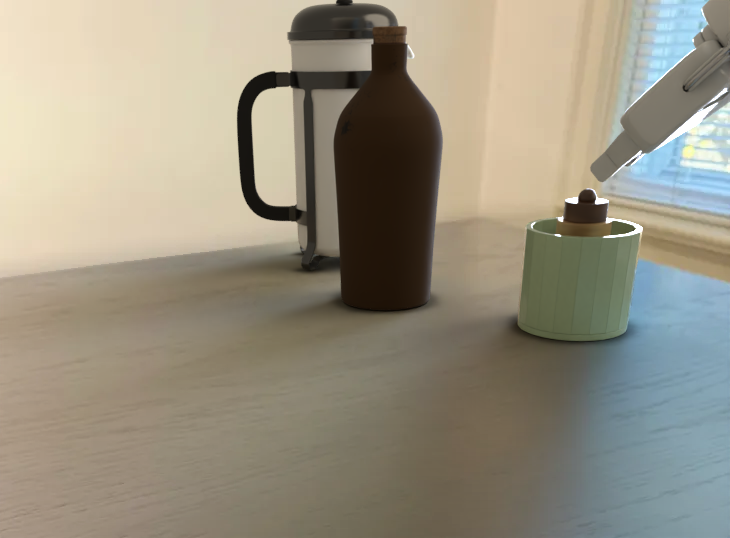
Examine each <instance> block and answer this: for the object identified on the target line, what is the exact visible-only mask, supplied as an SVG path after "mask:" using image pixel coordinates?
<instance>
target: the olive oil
mask: <svg viewBox="0 0 730 538" xmlns="http://www.w3.org/2000/svg"><path fill="white" fill-rule="evenodd" d="M407 35H408V27H407V26H405V25H398V26H384V27H373V44H371V64H372V70H371V73H370V75H369V77H368V78H367V80H366V81H365V82H364V84H363V85H362V86H361V87H360V89H359V90H358V91H357V93H356V94H355V95H354V96H353V98H352V99H351V100H350V101H349V103H348V104H347V105H346V106H345V108H344V109H343V111H342V112H341V114H340V116H339V119H338V122H337V126H336V130H335V134H334V143H333V147H334V164H335V180H336V196H337V214H338V232H339V252H340V257H339V275H340V276H339V277H340V298H341V301H342V302H343V303H344V304H346V305H347V306H350V307H353V308H357V309H363V310H369V311H370V310H372V311H400V310H408V309H412V308H418V307H421V306H423V305H426V304H427V303H428V302H429V301H430V298H431V289H432V275H433V274H432V273H433V260H434V247H435V246H434V245H435V236H436V235H435V234H436V223H437V211H438V199H439V190H440V189H439V188H440V178H441V169H442V157H443V144H444V138H443V137H444V136H443V130H442V126H441V121H440V117H439V115H438V113H437V111H436V109H435V108H434V106H433V105H432V103H431V102H430V101H429V99H428V98H427V97H426V96H425V94H424V93H423V92H422V90H420V88H419V87H418V86H417V84H416V83H415V82H414V81H413V79H412V78H411V76H410V74H409V72H408V59H407V50H408V45H409V44H408V42H407Z"/></svg>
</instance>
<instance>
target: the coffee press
mask: <svg viewBox="0 0 730 538" xmlns="http://www.w3.org/2000/svg"><path fill="white" fill-rule="evenodd" d="M384 26H399V22H398V18H397V16H396V15H395V13H394V12H393V11H392V10H391V9H389V8H388V7H386V6H384V5H380V4H377V3H376V4H375V3H367V2H366V3H365V2H354V1H353V0H335V3H323V4H314V5H310V6H307V7H305V8H303V9H301V10H300V11H299V12H297V13H296V14H295V15H294V17H293V19H292V22H291V25H290V31H287V32H286V40H287V41H288V44H289V45H290V52H291V53H290V54H291V70H289V72H288V71H276V70H271V71H266V72H263V73H259V74H257V75H255V76H253V78H251V79H250V80H249V81H248V82H247V83H246V85H244V88H243V90H242V91H241V93H240V96H239V100H238V102H237V108H236V109H237V110H236V133H237V151H238V152H237V153H238V168H239V178H240V179H239V180H240V188H241V192H242V196H243V198H244V199H243V200H244V201H245V203H246V205H247V206H248V208H249V209H250V210H251V211H252V212H253V214H255V215H256V216H258V217H260V218H261V219H265V220H267V221H274V222H292V223H293V222H294V223H296V225H297V227H296V228H297V240H298V241H297V242H298V244H299V249H300V252H301V254H303V255H302V258H301V261H300V266H301V269H303V270H306V271H312V272H315V271H316V270H317V269H318V267H319V266H320V263H321V262H322V260H324V259H327V258H330V257H331V258H332V257H333V258H340V252H339V232H338V214H337V196H336V180H335V164H334V147H333V143H334V134H335V130H336V126H337V122H338V119H339V116H340V114H341V112H342V111H343V109H344V108H345V106H346V105H347V104H348V103H349V101H350V100H351V99H352V98H353V96H354V95H355V94H356V93H357V91H358V90H359V89H360V87H361V86H362V85H363V84H364V82H365V81H366V80H367V78H368V77H369V75H370V73H371V70H372V64H371V44H373V27H384ZM414 58H415V53H414V52H413V50H412V49H411V46H410V45H409V44H408V50H407V60H409V59H411V60H413V59H414ZM289 87H290V88H291V89H292V110H293V115H292V116H293V140H294V141H293V142H294V143H293V144H294V169H295V170H294V171H295V197H296V199H295V200H296V201H295V202H296V204H295V205H272V204H268V203H266V202H265V201H264V200H263V199H262V198H261V196H260V194H259V193H258V189H257V185H256V173H255V158H254V157H255V156H254V138H253V119H252V118H253V107H254V105H255V102H256V100H257V98H258V97H259V95H260V94H261V93H263V92H265V91H267V90H272V89H276V88H289ZM314 255H315V256H314ZM313 256H314V257H313Z"/></svg>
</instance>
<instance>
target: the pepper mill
mask: <svg viewBox="0 0 730 538" xmlns="http://www.w3.org/2000/svg"><path fill="white" fill-rule="evenodd" d="M609 205H610V201H609V200H608V199H605V198H600V197H598V196H597V194H596V191H595V190H594V189H592V188H585V189H583V190H581V191H580V192H579V194H578V196H577V197H569V198H566V199H565V200H564V204H563V213H562V216H559V217H560V218H558V219H557V225H556V235H564V236H579V237H603V236H610V234H611V227H612V220H611V219H612V218H609V217H608V211H609Z"/></svg>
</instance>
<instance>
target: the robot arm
mask: <svg viewBox="0 0 730 538" xmlns="http://www.w3.org/2000/svg"><path fill="white" fill-rule="evenodd" d="M701 14H702V16H703V18H704V20H705V22H706V25H705V26H704V27H703V28H702V29H701V31H699V32H698V33H697V34H696V35H694V36H693V38H692V43H693V46H694V49H692V50H691V51H690V52H688V53H687V54H686V55H685V56H684V57H683V58H681V59H680V60H679V61H678V62H677V63H676V64H675V65H674V66H672V67H671V68H670V69H669V70H668V71H666V72H665V74H664V75H663V76H661V77H660V78H659V79H658V80H657V81H656V82H655V83H654V84H652V86H650V87H649V88H648V89H647V90H646V91H645V92H644V93H643V94H641V96H640V97H638V98H637V99H636V100H635V101H634V102H633V103H632V104H631V105H630V106H629V107H628V108H627V109H626V110H625V112H624V113H623V114H622V115H621V117H620V120H619V124H620V126H621V128H622V129H623V130H622V132H620V133H619V134H618V135H617V136H616V137H615V139H614V140H613V141H612V142H611V144H610V145H609V146H608V147H607V148H606V149H605V151H604V152H602V154H601V155H599V157H597V158H596V159H595V160H594V161H593V162H592V163H591V165H590V167H589V169H590V172H591V173H592V175H593V176H594V178H596V180H597V181H598V182H600V183H605V182H606V181H608V180H610V179H611V178H613V176H614V175H615V174H616V173H617V172H619V171H620V170H621V169H622V168H623V167H631V166H632V165H634V164H635V163H636V162H637V161H639V160H640V159H642V157H643V156H644V155H649V154H652V153H653V152H654V151H656V150H657V149H660V148H661V147H663V146H665V145H666V144H667V143H669V142H671V141H672V140H674V139H676V138H677V137H679V136H681V135H682V134H684V133H685V132H687V131H690V130H691V129H693V128H694V127H696V126H698V125H699V124H701V123H702V122H704V121H705V120H707V119H708V118H709V117H711V116H712V115H714V114H715V113H716V112H717V111H719V110H720V109H722V108H723V107H724V106H726V105H728V104H729V103H730V0H708V1H707V2H706V3H705V4H703V6H702V7H701Z"/></svg>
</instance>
